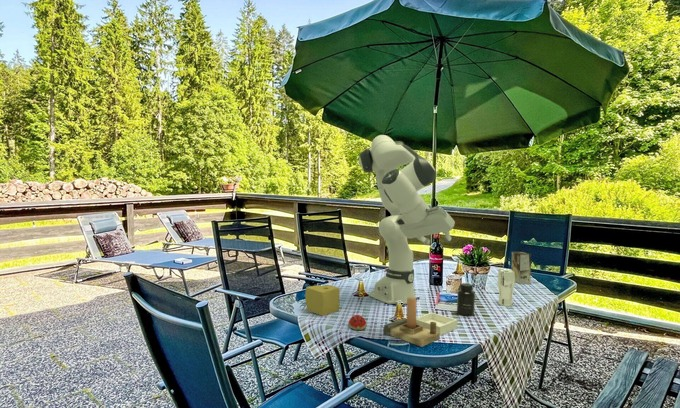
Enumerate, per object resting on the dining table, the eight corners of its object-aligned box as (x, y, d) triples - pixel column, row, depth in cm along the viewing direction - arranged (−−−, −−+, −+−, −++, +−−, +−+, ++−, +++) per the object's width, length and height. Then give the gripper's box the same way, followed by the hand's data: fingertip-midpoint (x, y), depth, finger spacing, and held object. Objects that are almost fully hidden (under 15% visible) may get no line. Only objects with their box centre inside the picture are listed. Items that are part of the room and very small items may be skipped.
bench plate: (382, 333, 137) (382, 318, 137) (404, 325, 145) (404, 310, 145) (419, 347, 125) (420, 330, 125) (440, 338, 133) (441, 322, 133)
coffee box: (530, 283, 208) (531, 254, 208) (519, 284, 208) (520, 254, 207) (521, 279, 218) (521, 251, 217) (510, 280, 217) (511, 251, 216)
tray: (413, 327, 143) (413, 318, 143) (431, 320, 151) (431, 312, 151) (439, 335, 135) (439, 327, 135) (457, 328, 143) (457, 319, 142)
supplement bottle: (465, 317, 155) (466, 287, 154) (453, 312, 161) (453, 283, 160) (478, 314, 158) (478, 285, 157) (465, 309, 164) (466, 281, 163)
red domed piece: (364, 321, 149) (364, 312, 149) (368, 331, 139) (368, 321, 139) (347, 322, 149) (347, 313, 149) (349, 331, 139) (350, 322, 139)
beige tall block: (515, 307, 168) (516, 272, 167) (498, 305, 169) (499, 271, 169) (512, 302, 175) (512, 269, 174) (495, 301, 176) (496, 268, 176)
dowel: (404, 329, 135) (405, 298, 135) (410, 327, 137) (411, 297, 137) (412, 332, 133) (412, 300, 132) (417, 330, 135) (418, 299, 134)
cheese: (323, 305, 169) (323, 282, 168) (340, 311, 161) (341, 287, 161) (304, 310, 162) (305, 287, 161) (322, 317, 154) (322, 292, 153)
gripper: (444, 199, 125) (466, 231, 129) (399, 212, 142) (420, 240, 145) (436, 211, 122) (459, 244, 125) (391, 223, 138) (413, 251, 141)
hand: (438, 242), depth 135 cm, fingers open, 8 cm apart
